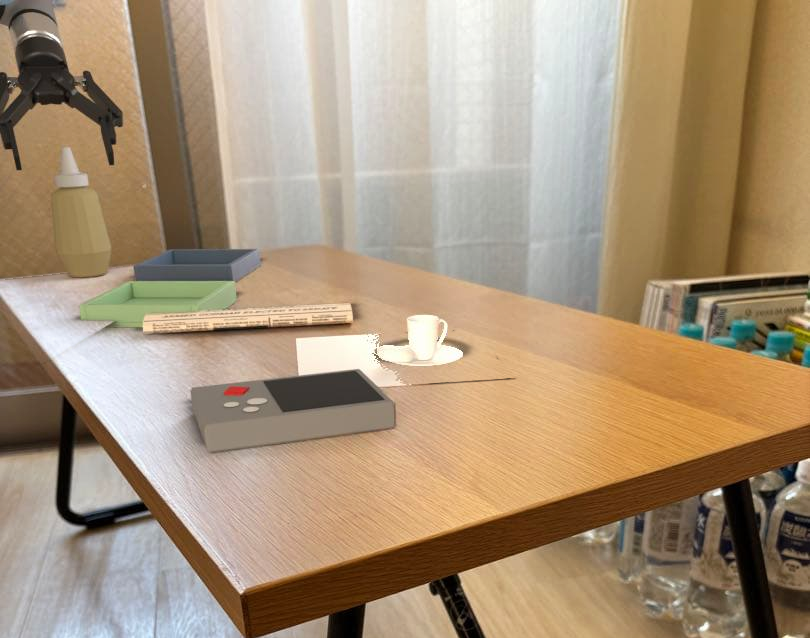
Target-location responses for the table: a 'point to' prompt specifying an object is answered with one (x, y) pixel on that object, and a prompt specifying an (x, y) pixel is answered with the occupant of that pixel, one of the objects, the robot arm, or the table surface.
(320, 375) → the electronic device
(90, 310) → the green tray
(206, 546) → the table surface
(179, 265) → the blue tray
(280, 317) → the newspaper
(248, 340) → the table surface
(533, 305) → the table surface
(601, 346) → the table surface
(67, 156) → the squeeze bottle
